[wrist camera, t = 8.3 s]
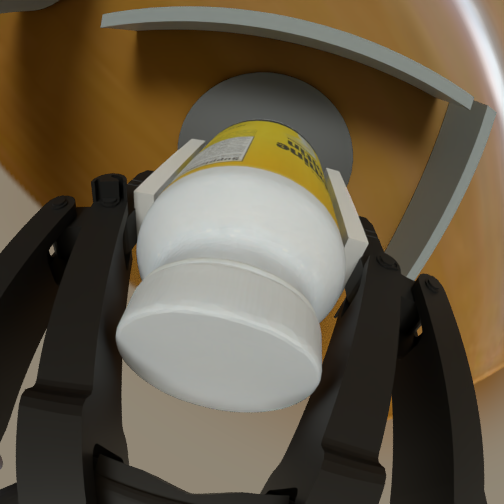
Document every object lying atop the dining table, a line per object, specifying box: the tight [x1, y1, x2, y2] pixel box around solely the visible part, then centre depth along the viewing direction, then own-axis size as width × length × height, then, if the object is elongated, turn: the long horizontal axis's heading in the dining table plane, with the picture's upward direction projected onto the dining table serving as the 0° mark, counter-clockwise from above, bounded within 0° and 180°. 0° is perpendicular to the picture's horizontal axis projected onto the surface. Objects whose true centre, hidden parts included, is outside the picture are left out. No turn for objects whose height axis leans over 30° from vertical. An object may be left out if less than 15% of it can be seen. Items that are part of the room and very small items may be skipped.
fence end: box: [384, 100, 497, 281], centre depth 14 cm, size 1×14×4 cm, turn 170°
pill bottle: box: [116, 119, 346, 412], centre depth 10 cm, size 6×6×12 cm
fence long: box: [101, 7, 474, 110], centre depth 10 cm, size 19×1×4 cm, turn 79°
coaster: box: [178, 72, 353, 187], centre depth 17 cm, size 11×11×1 cm
